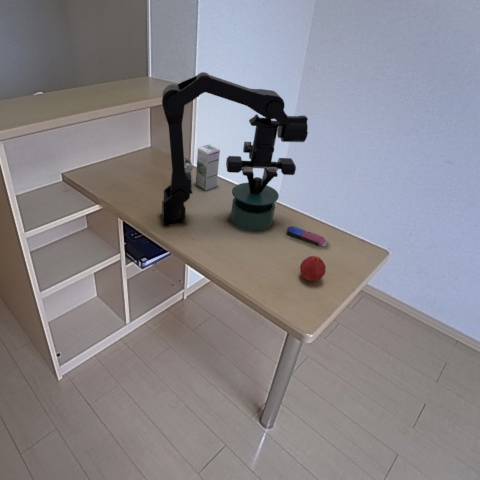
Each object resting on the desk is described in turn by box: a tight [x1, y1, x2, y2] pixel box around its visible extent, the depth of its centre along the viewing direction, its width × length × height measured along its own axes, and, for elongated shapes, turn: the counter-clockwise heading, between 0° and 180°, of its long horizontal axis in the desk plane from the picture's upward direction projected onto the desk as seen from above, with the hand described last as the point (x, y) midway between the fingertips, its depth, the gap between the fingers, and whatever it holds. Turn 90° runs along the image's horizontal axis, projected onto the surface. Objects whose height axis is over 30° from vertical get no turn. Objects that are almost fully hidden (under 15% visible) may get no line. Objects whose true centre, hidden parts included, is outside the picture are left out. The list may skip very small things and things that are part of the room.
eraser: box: [286, 225, 327, 248], centre depth 107 cm, size 11×4×2 cm, turn 53°
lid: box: [231, 176, 280, 205], centre depth 109 cm, size 14×14×6 cm
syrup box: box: [195, 144, 221, 191], centre depth 131 cm, size 6×6×14 cm
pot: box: [229, 197, 276, 232], centre depth 114 cm, size 13×13×6 cm
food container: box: [184, 157, 193, 173], centre depth 130 cm, size 12×6×10 cm, turn 168°
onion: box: [299, 255, 326, 282], centre depth 91 cm, size 6×6×8 cm
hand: (255, 192), depth 110 cm, fingers closed on lid, 2 cm apart
